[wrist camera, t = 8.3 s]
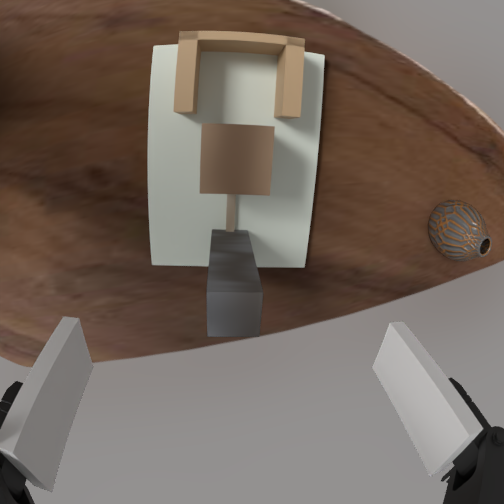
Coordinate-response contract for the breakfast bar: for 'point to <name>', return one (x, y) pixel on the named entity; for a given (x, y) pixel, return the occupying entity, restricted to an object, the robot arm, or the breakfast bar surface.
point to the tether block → (234, 241)
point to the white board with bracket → (232, 112)
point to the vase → (459, 231)
